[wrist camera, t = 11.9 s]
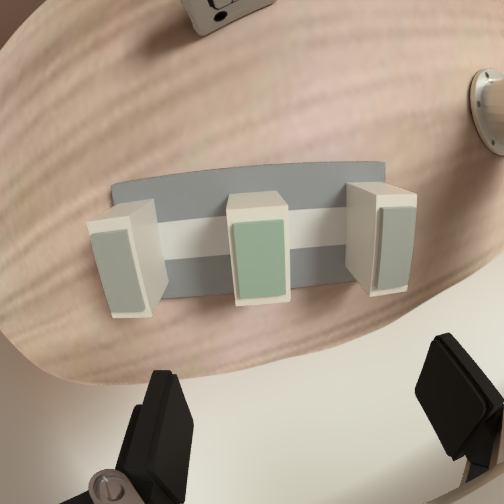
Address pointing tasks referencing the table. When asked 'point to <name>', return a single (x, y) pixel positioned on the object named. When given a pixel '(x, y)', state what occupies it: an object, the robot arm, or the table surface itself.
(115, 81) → the table surface
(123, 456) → the robot arm
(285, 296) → the block
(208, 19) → the electrical switch
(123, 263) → the mounted modules
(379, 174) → the rail board
